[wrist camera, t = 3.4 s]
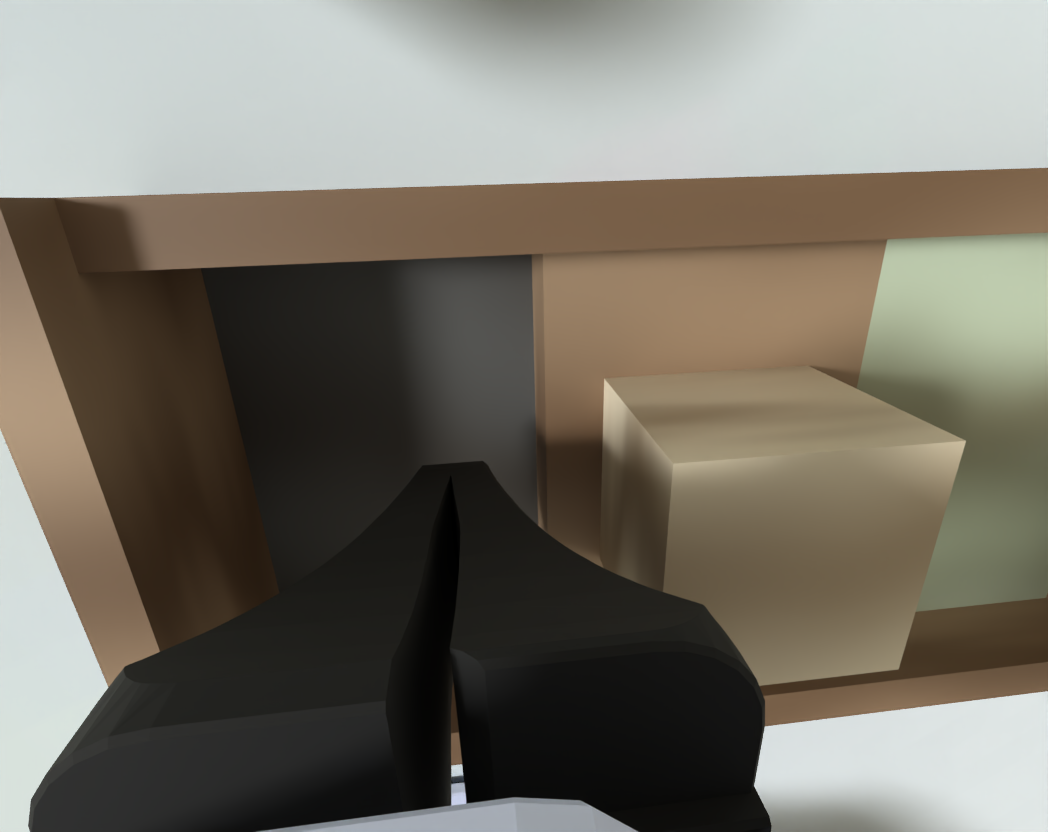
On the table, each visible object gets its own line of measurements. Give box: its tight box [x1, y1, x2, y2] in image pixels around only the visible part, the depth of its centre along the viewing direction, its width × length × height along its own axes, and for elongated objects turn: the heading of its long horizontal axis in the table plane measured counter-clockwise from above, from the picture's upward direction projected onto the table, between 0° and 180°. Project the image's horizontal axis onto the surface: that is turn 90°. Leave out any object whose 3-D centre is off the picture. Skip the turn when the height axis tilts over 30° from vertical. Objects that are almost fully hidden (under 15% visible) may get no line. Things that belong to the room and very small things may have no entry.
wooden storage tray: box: [0, 168, 1048, 765], centre depth 12 cm, size 12×23×5 cm, turn 92°
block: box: [600, 366, 966, 686], centre depth 11 cm, size 4×4×4 cm
